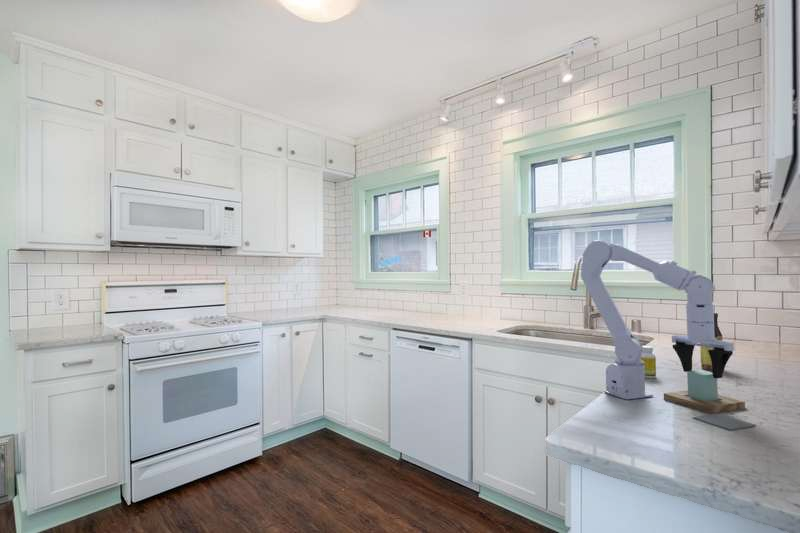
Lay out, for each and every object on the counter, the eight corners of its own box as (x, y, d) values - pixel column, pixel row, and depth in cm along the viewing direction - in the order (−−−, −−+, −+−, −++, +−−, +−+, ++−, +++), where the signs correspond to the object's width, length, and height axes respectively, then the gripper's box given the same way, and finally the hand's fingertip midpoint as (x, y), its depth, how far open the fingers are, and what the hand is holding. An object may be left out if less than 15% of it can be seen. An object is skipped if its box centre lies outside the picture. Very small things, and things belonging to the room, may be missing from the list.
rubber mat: (730, 430, 85) (730, 429, 85) (692, 418, 93) (692, 416, 93) (756, 426, 88) (756, 424, 88) (717, 414, 95) (717, 413, 95)
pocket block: (710, 413, 96) (709, 406, 96) (663, 399, 108) (663, 393, 108) (745, 408, 100) (744, 401, 100) (696, 394, 111) (696, 389, 111)
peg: (705, 407, 101) (704, 375, 101) (688, 402, 105) (687, 371, 105) (718, 405, 102) (716, 373, 102) (700, 400, 106) (699, 370, 107)
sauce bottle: (718, 372, 137) (716, 313, 138) (697, 368, 142) (695, 312, 143) (727, 369, 140) (725, 312, 141) (706, 366, 146) (704, 311, 146)
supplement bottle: (659, 378, 129) (658, 348, 129) (640, 378, 130) (639, 347, 130) (652, 374, 134) (651, 345, 135) (634, 374, 136) (633, 345, 136)
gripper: (741, 323, 99) (744, 379, 98) (684, 318, 112) (686, 367, 112) (721, 325, 96) (723, 382, 96) (665, 319, 110) (667, 369, 110)
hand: (702, 374), depth 104 cm, fingers open, 7 cm apart
